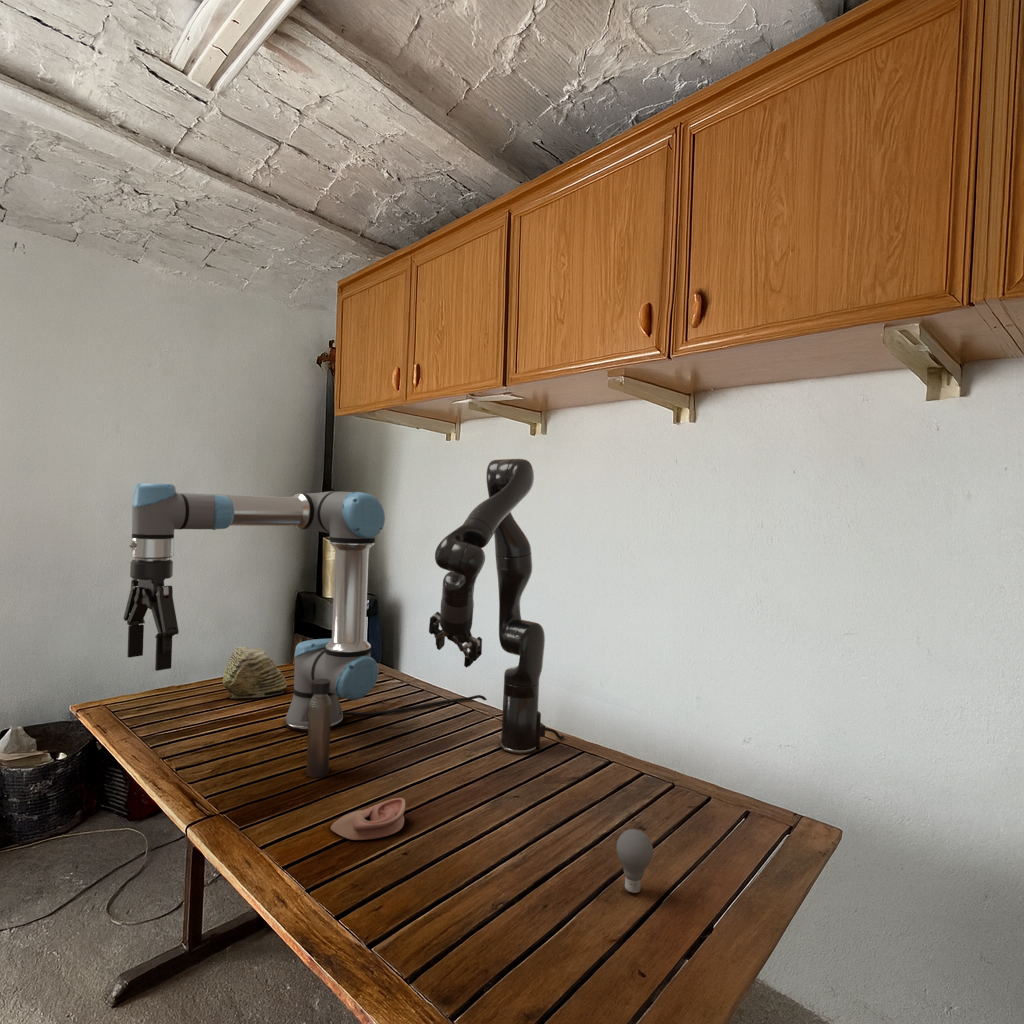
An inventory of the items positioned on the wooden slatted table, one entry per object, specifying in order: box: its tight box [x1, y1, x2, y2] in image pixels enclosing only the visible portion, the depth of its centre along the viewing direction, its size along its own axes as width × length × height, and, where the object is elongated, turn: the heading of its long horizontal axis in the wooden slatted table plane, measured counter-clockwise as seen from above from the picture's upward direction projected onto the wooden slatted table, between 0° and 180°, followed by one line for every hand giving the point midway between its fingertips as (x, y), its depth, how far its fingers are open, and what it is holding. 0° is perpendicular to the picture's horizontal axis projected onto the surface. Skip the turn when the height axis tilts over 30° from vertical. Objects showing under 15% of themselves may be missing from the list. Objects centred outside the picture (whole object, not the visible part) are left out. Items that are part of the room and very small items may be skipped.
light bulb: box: [615, 828, 654, 894], centre depth 106 cm, size 6×6×10 cm
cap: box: [311, 679, 331, 695], centre depth 145 cm, size 4×4×2 cm
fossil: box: [222, 646, 288, 699], centre depth 198 cm, size 9×18×15 cm, turn 132°
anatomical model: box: [330, 797, 407, 841], centre depth 123 cm, size 13×4×12 cm
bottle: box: [306, 694, 331, 778], centre depth 145 cm, size 5×5×21 cm
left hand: (148, 662), depth 129 cm, fingers open, 13 cm apart
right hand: (454, 655), depth 155 cm, fingers open, 8 cm apart
